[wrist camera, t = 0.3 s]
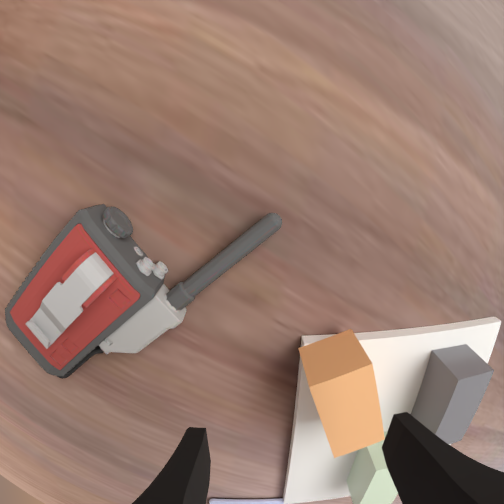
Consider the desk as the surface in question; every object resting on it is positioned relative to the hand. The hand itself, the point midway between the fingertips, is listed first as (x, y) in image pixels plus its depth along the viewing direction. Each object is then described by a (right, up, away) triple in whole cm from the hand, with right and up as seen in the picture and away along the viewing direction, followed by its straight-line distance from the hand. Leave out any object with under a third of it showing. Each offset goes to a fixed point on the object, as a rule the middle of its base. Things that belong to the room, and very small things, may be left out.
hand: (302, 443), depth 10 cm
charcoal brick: (+13, -3, +10) cm, 17 cm away
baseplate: (+10, -8, +12) cm, 18 cm away
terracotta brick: (+4, -1, +10) cm, 10 cm away
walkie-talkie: (-10, +6, +9) cm, 15 cm away
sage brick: (+9, -11, +12) cm, 19 cm away
